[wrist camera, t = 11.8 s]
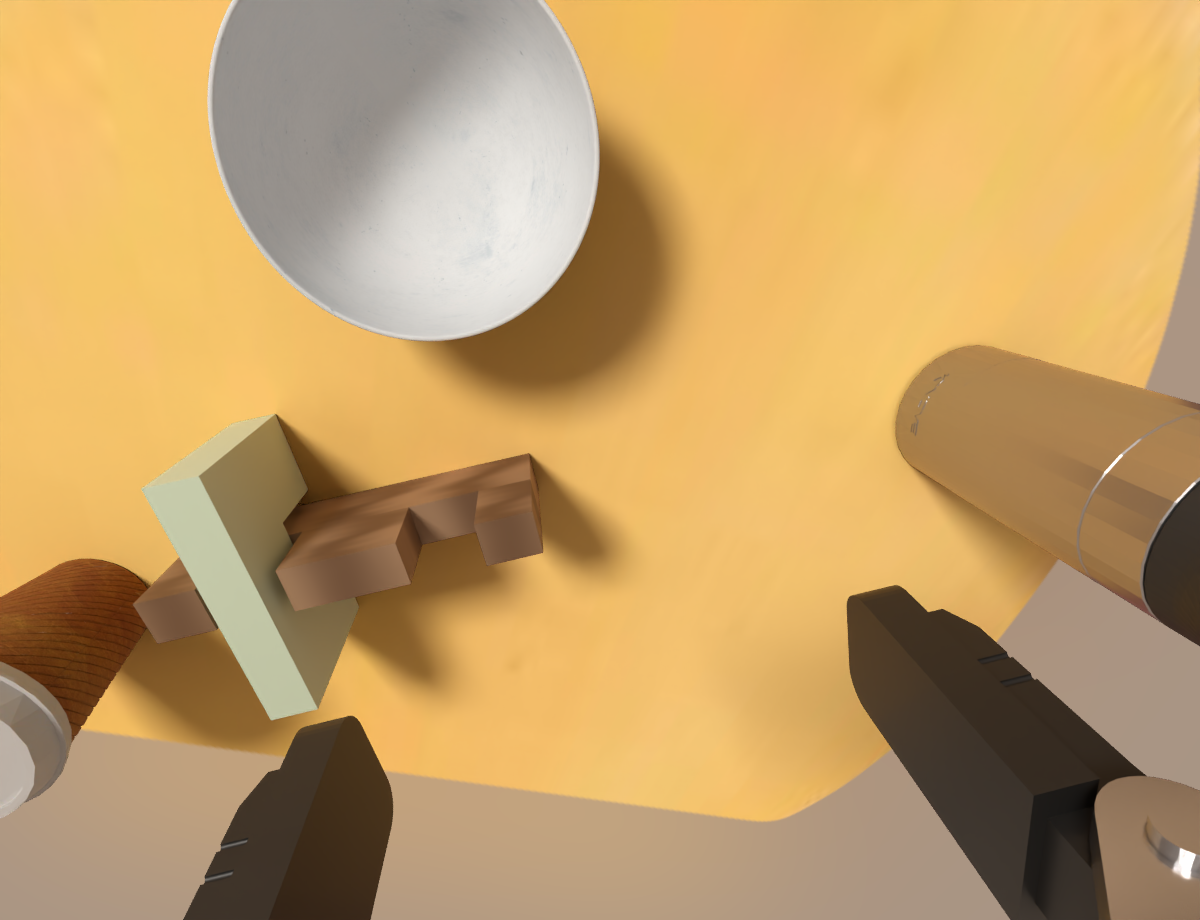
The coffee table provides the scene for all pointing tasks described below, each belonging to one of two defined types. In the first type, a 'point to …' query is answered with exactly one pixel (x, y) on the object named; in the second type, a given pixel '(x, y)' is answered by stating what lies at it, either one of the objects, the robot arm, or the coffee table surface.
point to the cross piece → (251, 560)
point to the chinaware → (407, 154)
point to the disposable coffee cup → (58, 666)
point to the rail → (373, 541)
